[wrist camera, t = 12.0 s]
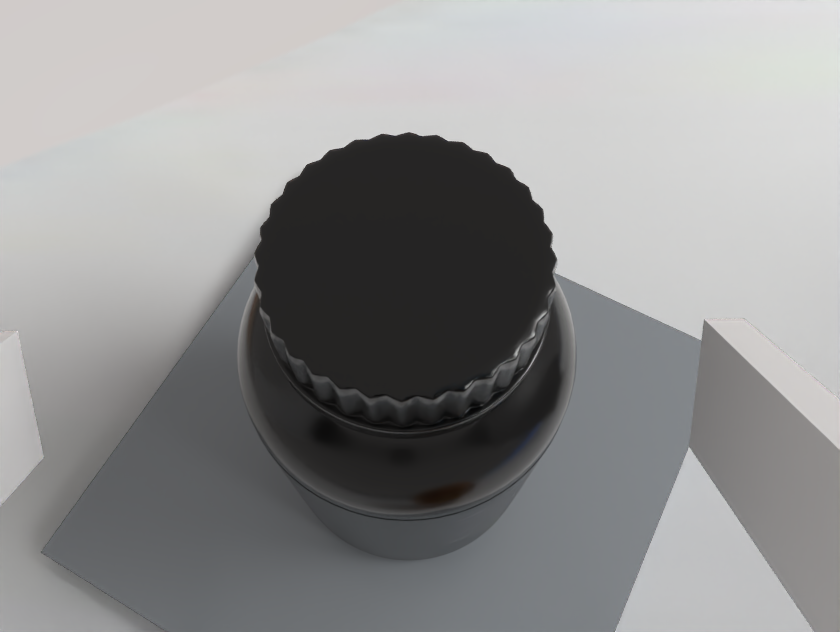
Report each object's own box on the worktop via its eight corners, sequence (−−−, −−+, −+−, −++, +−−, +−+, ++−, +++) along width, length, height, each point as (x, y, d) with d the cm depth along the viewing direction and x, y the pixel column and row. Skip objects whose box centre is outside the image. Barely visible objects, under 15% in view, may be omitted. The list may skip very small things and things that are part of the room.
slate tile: (717, 361, 25) (726, 352, 24) (520, 849, 19) (524, 857, 19) (322, 178, 28) (319, 165, 27) (53, 556, 22) (41, 552, 21)
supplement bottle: (247, 467, 22) (84, 282, 12) (391, 302, 25) (369, 15, 14) (432, 620, 21) (448, 572, 10) (569, 427, 23) (707, 213, 12)
